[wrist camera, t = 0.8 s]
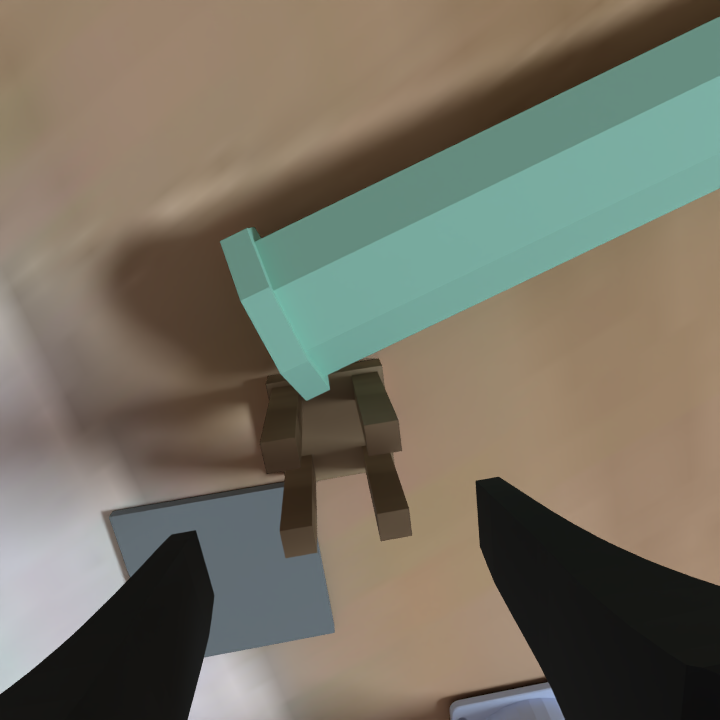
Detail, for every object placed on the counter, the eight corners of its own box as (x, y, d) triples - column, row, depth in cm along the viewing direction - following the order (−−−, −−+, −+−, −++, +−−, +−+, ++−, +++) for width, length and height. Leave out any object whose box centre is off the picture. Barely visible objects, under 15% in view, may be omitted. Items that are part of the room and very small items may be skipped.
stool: (391, 455, 20) (419, 539, 15) (288, 473, 20) (280, 564, 15) (378, 357, 19) (404, 412, 14) (268, 375, 19) (251, 437, 13)
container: (1215, -188, 11) (224, 290, 11) (1056, 87, 15) (322, 436, 15) (913, -134, 15) (216, 205, 16) (852, 65, 19) (293, 334, 20)
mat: (334, 625, 22) (334, 632, 22) (163, 657, 22) (160, 665, 22) (305, 478, 20) (305, 483, 20) (112, 511, 20) (109, 517, 19)
